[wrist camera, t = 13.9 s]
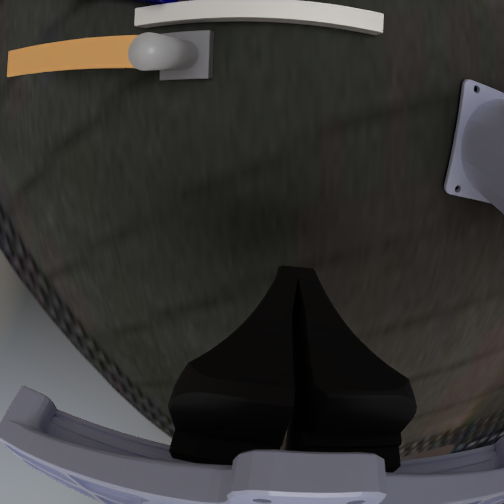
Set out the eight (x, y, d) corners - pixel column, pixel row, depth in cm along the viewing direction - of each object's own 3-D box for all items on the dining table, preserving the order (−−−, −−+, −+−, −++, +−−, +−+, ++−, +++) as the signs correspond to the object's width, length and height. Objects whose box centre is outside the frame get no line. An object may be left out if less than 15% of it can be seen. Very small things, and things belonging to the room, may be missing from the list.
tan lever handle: (200, 41, 15) (167, 32, 11) (195, 70, 16) (162, 71, 12) (58, 46, 15) (6, 50, 11) (56, 70, 16) (4, 79, 12)
